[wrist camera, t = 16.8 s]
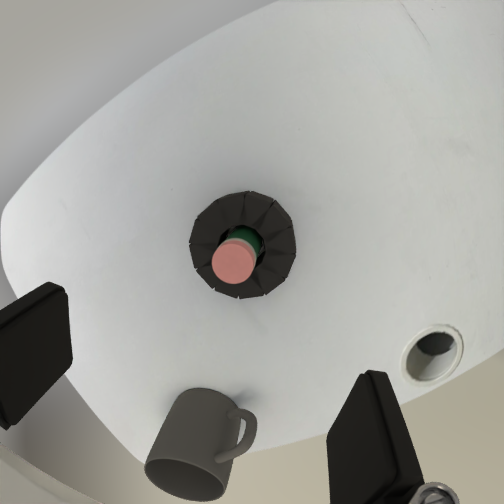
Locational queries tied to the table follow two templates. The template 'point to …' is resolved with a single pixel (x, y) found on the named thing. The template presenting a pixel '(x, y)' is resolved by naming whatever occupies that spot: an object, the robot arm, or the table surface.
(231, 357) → the table surface
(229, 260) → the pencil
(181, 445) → the mug
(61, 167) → the table surface
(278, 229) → the black toy tire
